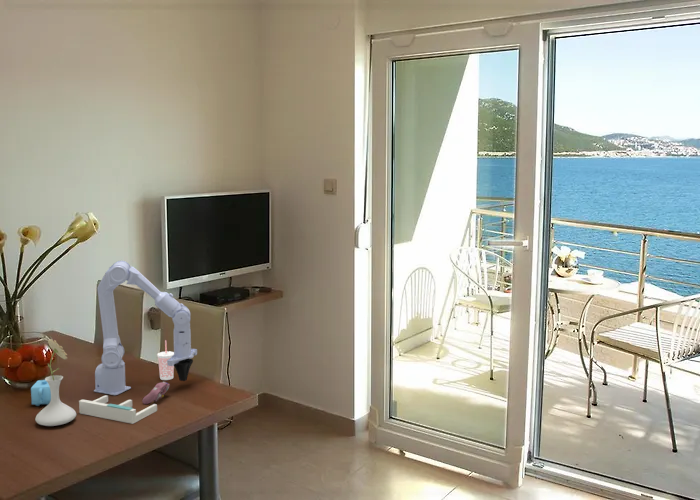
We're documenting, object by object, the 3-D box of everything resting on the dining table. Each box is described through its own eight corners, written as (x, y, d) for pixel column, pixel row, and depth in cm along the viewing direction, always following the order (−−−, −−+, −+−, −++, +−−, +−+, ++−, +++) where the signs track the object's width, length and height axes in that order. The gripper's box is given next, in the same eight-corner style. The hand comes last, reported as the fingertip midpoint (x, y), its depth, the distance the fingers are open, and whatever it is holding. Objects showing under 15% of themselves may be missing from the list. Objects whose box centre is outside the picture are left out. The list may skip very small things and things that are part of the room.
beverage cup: (154, 380, 246) (153, 341, 244) (162, 374, 252) (161, 337, 250) (171, 381, 245) (170, 343, 243) (178, 375, 251) (177, 338, 249)
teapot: (42, 395, 230) (40, 373, 229) (61, 395, 231) (60, 373, 230) (30, 409, 218) (29, 386, 217) (50, 408, 219) (49, 385, 218)
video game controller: (152, 410, 223) (160, 392, 221) (140, 402, 223) (148, 385, 222) (166, 399, 232) (174, 382, 231) (154, 392, 233) (162, 375, 231)
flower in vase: (78, 425, 205) (74, 344, 202) (36, 432, 200) (31, 348, 197) (74, 410, 217) (70, 333, 213) (34, 416, 212) (30, 337, 208)
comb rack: (79, 413, 215) (78, 400, 214) (105, 401, 225) (104, 388, 225) (132, 423, 207) (132, 410, 207) (157, 410, 218) (156, 397, 217)
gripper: (179, 349, 229) (180, 388, 231) (204, 338, 243) (204, 375, 244) (161, 346, 232) (162, 385, 234) (187, 335, 245) (188, 372, 247)
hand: (183, 380), depth 239 cm, fingers closed
